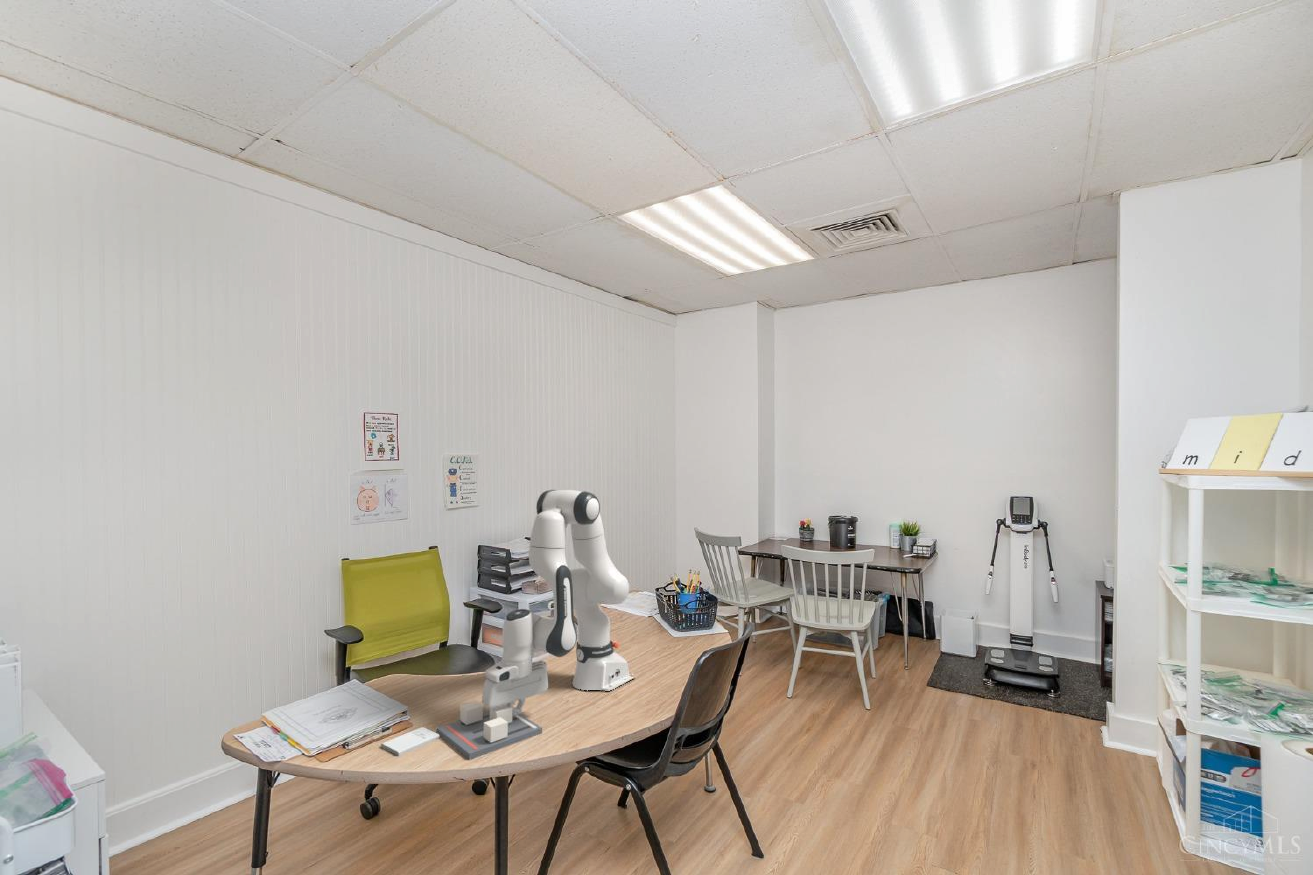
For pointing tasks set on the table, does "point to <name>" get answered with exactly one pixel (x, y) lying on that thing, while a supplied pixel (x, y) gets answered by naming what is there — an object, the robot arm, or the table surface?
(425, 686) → the table surface
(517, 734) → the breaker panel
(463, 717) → the block
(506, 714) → the block
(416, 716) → the table surface
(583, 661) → the robot arm
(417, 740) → the external hard drive
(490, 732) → the block
